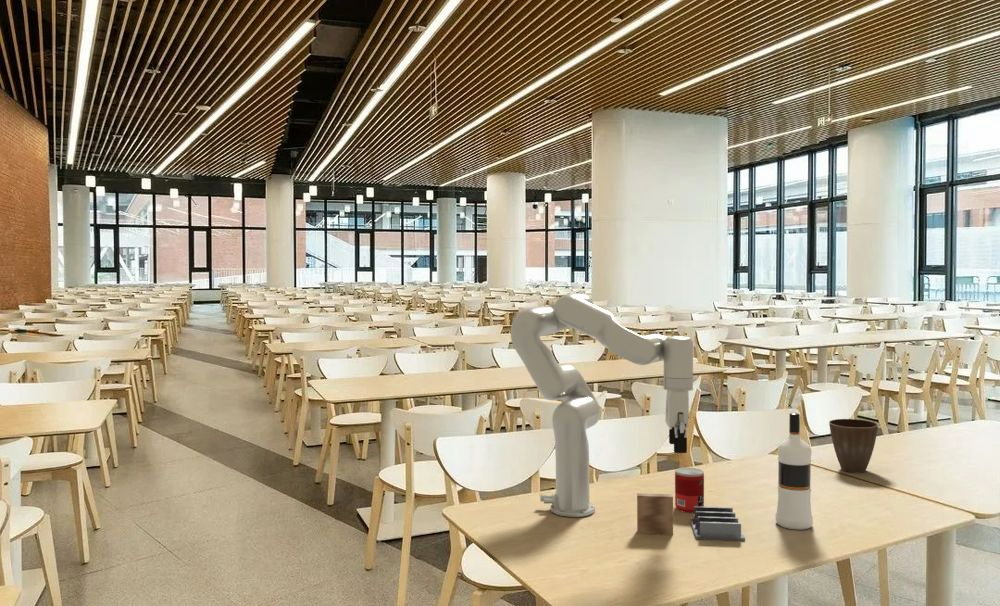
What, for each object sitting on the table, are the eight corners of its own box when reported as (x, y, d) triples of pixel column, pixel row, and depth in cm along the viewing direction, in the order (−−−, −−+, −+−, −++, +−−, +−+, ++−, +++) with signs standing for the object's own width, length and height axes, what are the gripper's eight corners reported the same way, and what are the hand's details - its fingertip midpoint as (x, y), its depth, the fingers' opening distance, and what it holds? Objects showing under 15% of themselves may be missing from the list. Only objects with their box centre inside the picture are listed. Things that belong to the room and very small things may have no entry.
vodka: (767, 522, 204) (768, 411, 203) (793, 517, 208) (793, 408, 207) (795, 533, 196) (795, 417, 194) (820, 527, 200) (821, 414, 198)
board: (637, 533, 196) (637, 495, 196) (637, 530, 199) (637, 493, 198) (673, 535, 195) (672, 496, 195) (672, 532, 197) (672, 494, 197)
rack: (696, 539, 192) (696, 522, 192) (690, 521, 205) (690, 506, 205) (745, 541, 190) (745, 524, 190) (736, 523, 203) (736, 507, 203)
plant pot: (847, 477, 247) (848, 428, 246) (819, 465, 261) (819, 419, 261) (887, 474, 250) (888, 426, 249) (857, 463, 264) (858, 417, 264)
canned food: (704, 514, 212) (704, 475, 211) (675, 512, 213) (675, 473, 213) (703, 505, 219) (703, 468, 219) (674, 504, 221) (674, 466, 220)
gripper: (659, 378, 208) (659, 440, 208) (667, 388, 190) (667, 456, 191) (687, 378, 207) (687, 441, 208) (698, 389, 190) (697, 456, 190)
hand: (677, 448), depth 199 cm, fingers open, 9 cm apart
